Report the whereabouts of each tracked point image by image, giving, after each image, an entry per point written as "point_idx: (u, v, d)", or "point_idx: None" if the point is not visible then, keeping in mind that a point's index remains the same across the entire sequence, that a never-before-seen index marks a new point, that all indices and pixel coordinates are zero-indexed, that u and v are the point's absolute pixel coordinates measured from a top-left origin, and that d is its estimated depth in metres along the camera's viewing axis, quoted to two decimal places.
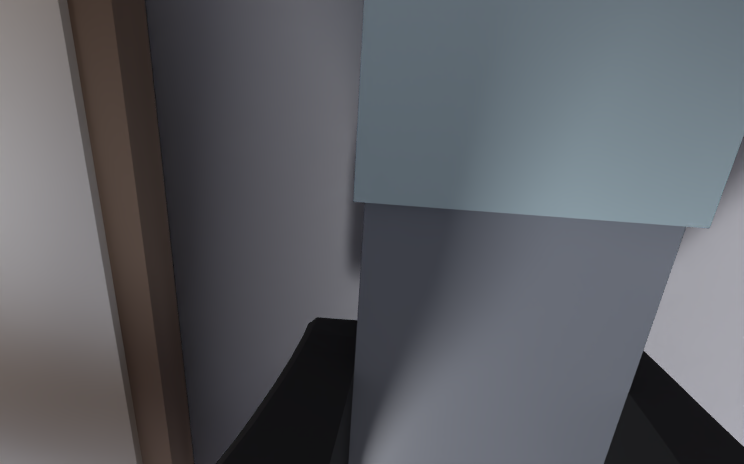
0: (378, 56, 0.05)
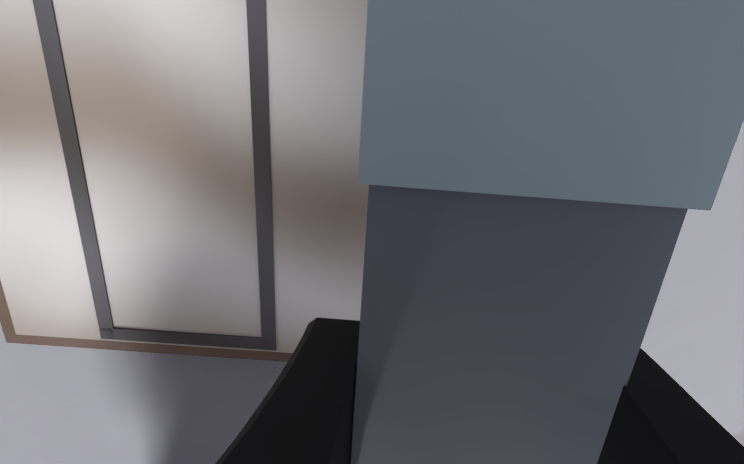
0: (382, 38, 0.05)
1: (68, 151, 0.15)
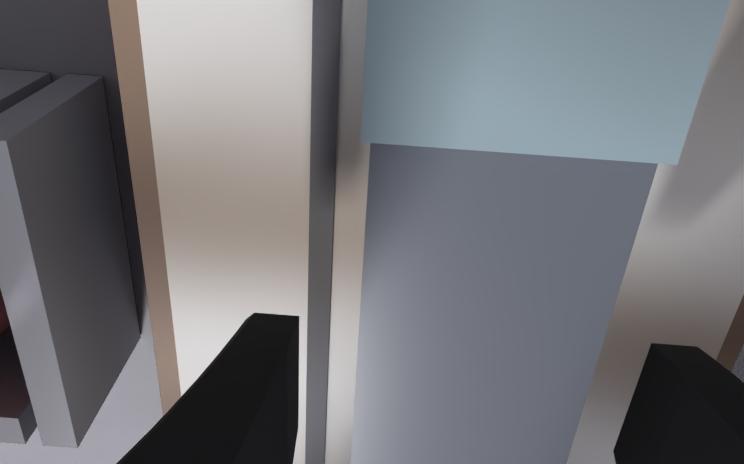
0: (382, 8, 0.06)
1: (314, 280, 0.11)
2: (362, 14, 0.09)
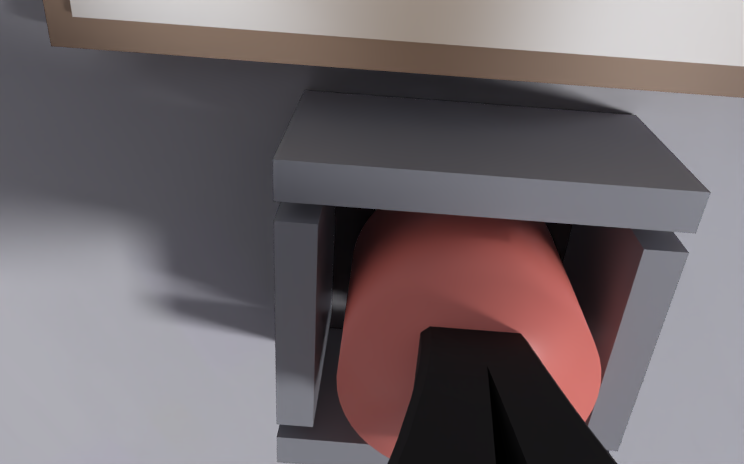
0: None
1: None
2: None
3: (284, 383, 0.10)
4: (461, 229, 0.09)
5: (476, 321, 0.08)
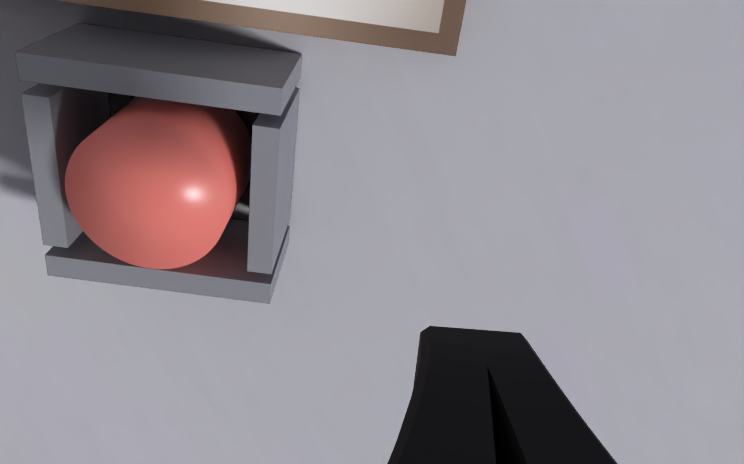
0: None
1: None
2: None
3: (43, 212, 0.15)
4: (152, 105, 0.14)
5: (142, 155, 0.14)
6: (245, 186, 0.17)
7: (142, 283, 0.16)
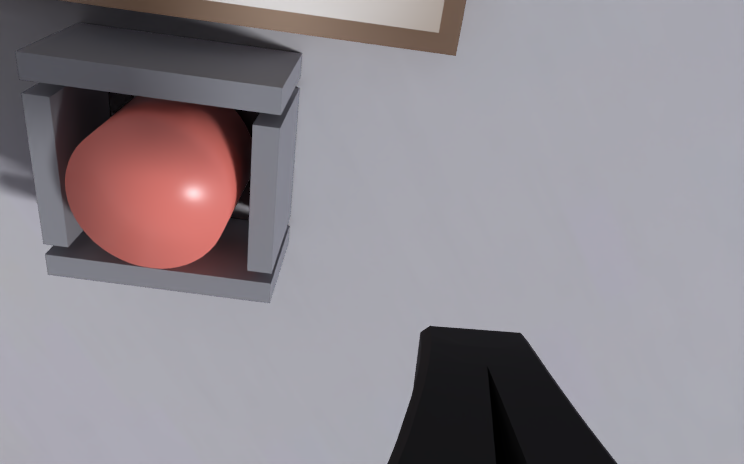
0: None
1: None
2: None
3: (44, 212, 0.15)
4: (152, 105, 0.14)
5: (142, 154, 0.14)
6: (245, 186, 0.17)
7: (142, 282, 0.16)
